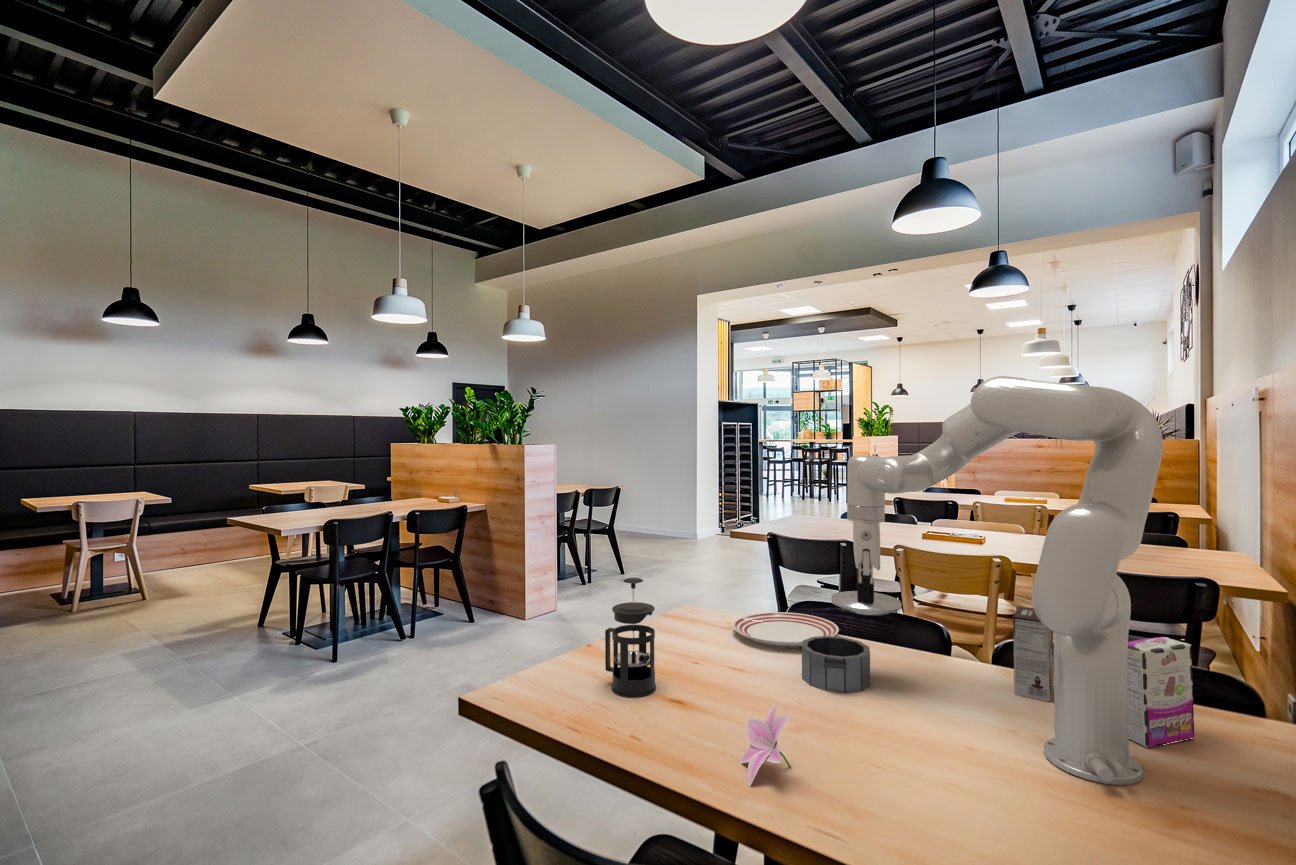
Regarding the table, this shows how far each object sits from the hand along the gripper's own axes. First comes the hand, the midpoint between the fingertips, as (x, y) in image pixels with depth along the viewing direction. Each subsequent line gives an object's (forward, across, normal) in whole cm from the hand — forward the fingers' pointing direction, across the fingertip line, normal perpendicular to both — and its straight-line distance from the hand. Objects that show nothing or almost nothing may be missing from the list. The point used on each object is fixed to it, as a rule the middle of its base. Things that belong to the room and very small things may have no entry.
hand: (865, 598), depth 128 cm
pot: (+18, 0, +6) cm, 19 cm away
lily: (+18, -40, +16) cm, 47 cm away
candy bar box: (+17, -10, -47) cm, 51 cm away
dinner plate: (+19, +26, +19) cm, 38 cm away
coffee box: (+18, +6, -33) cm, 38 cm away
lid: (+2, 0, 0) cm, 2 cm away
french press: (+19, -17, +47) cm, 53 cm away
